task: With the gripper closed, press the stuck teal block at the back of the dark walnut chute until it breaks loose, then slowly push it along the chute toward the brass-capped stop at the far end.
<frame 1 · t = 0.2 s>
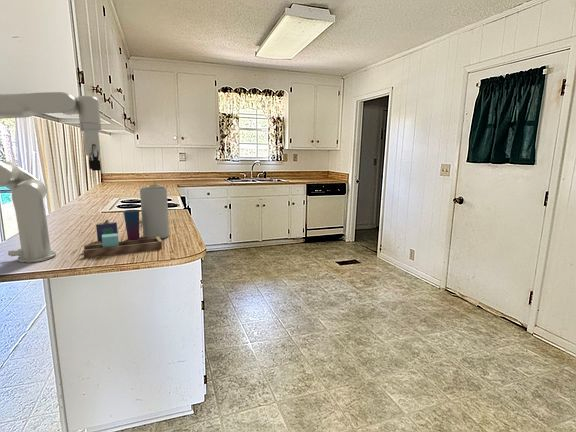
hand: (95, 169, 142), 36 cm above the counter, tool pointing down, fingers open, 9 cm apart
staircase: (158, 219, 217), on the counter
cup: (133, 241, 165), on the counter
block: (110, 243, 144), point 5 cm above the counter, slide at 0.0 cm
cylinder vase: (156, 236, 174), on the counter
chute: (124, 252, 147), on the counter
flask: (108, 241, 164), on the counter
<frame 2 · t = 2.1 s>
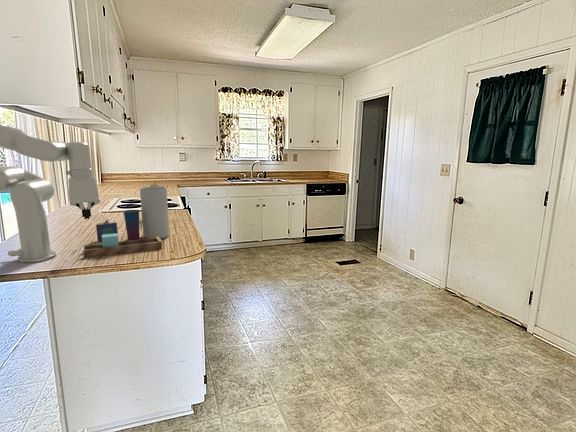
hand: (87, 218, 138), 16 cm above the counter, tool pointing down, fingers closed
nothing on the counter moved.
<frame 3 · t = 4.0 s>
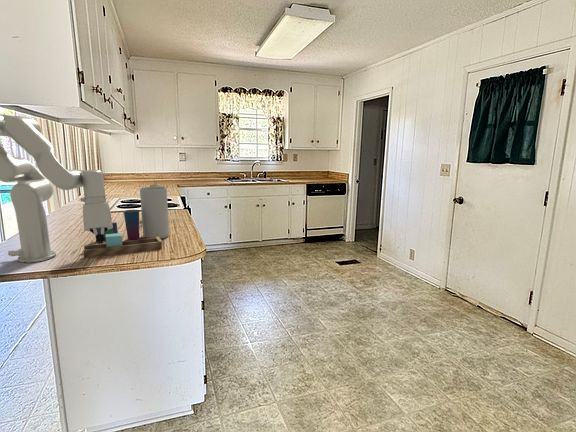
hand: (100, 243, 142), 5 cm above the counter, tool pointing down, fingers closed
block: (114, 242, 145), point 5 cm above the counter, slide at 1.4 cm, touching gripper
everything else where it was.
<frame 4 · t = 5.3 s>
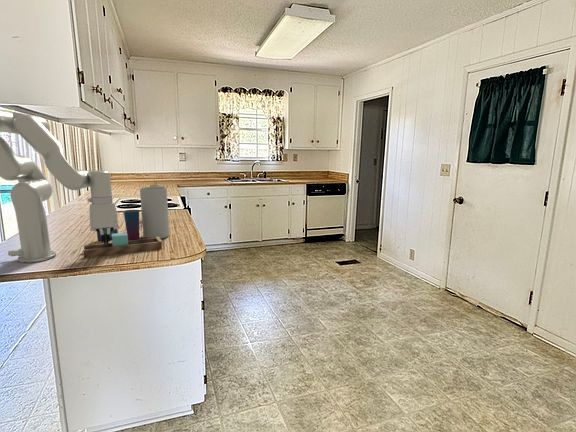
hand: (106, 243, 143), 5 cm above the counter, tool pointing down, fingers closed
block: (120, 242, 146), point 5 cm above the counter, slide at 3.7 cm, touching gripper
everything else where it was.
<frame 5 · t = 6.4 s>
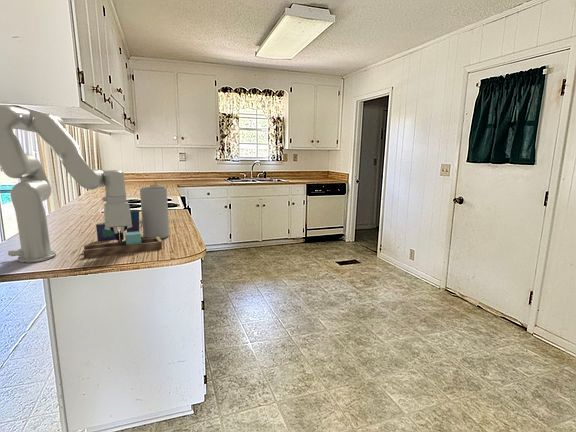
hand: (120, 241, 146), 5 cm above the counter, tool pointing down, fingers closed
block: (133, 240, 148), point 5 cm above the counter, slide at 8.9 cm, touching gripper
everything else where it was.
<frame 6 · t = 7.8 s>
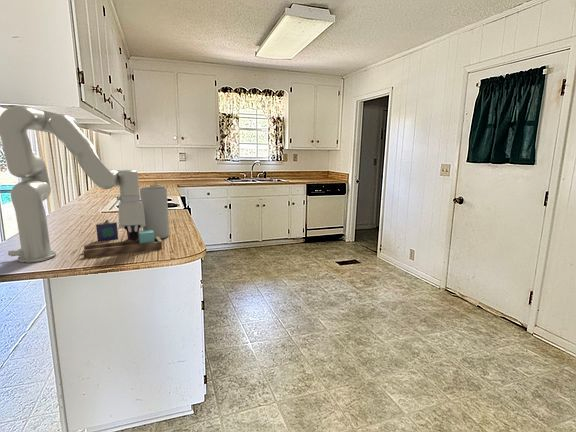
hand: (133, 240, 148), 5 cm above the counter, tool pointing down, fingers closed
block: (146, 239, 151), point 5 cm above the counter, slide at 14.3 cm, touching gripper
everything else where it was.
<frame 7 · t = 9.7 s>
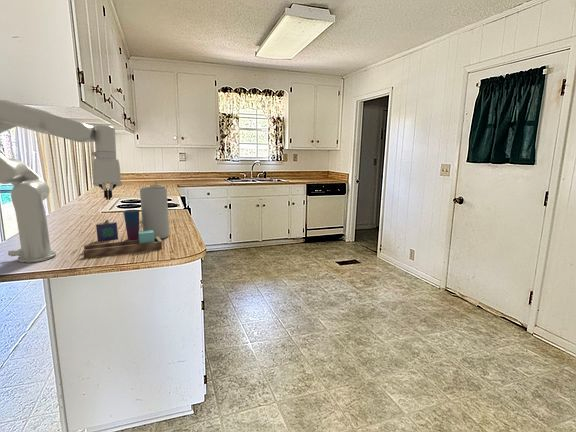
hand: (108, 199, 143), 23 cm above the counter, tool pointing down, fingers closed
block: (146, 239, 151), point 5 cm above the counter, slide at 14.3 cm
everything else where it was.
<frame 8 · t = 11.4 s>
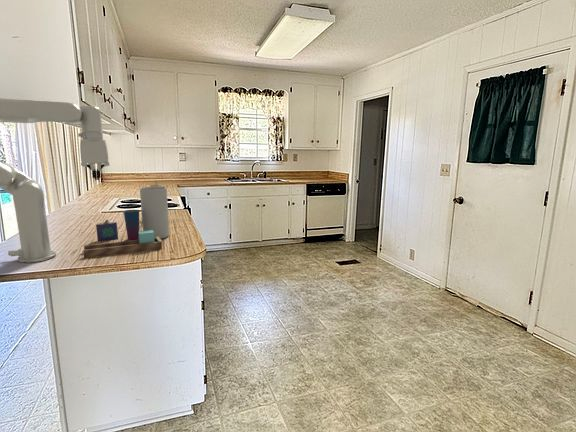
hand: (97, 179, 147), 31 cm above the counter, tool pointing down, fingers closed
nothing on the counter moved.
at the end: block slide at 14.3 cm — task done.
